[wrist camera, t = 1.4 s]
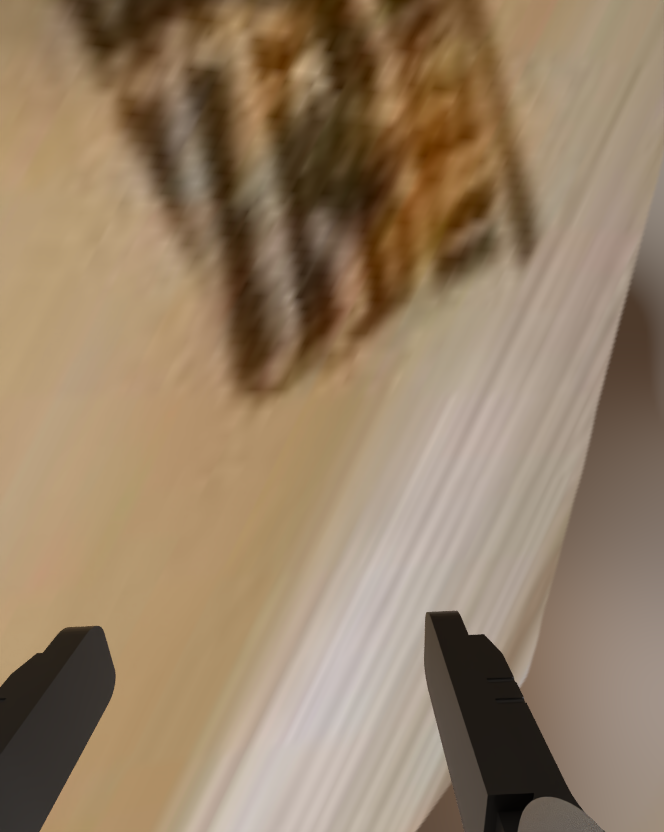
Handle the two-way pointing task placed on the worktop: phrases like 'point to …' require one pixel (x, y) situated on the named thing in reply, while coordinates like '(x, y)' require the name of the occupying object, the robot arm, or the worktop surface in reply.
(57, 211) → the worktop surface
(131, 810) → the worktop surface
